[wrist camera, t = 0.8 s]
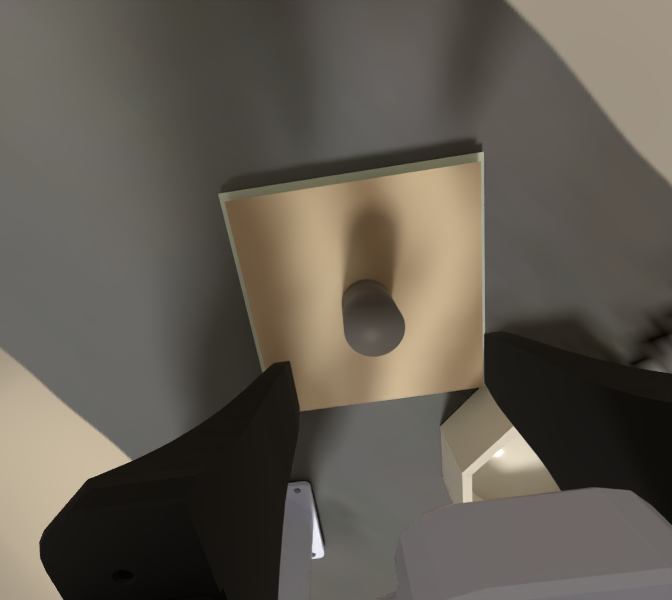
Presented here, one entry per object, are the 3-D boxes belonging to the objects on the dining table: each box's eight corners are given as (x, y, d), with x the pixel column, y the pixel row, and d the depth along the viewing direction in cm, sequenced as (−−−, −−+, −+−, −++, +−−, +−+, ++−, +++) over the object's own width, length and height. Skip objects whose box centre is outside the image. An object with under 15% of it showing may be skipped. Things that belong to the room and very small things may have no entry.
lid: (278, 407, 23) (264, 460, 18) (228, 201, 18) (194, 203, 14) (477, 380, 22) (515, 428, 18) (474, 162, 18) (523, 151, 13)
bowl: (444, 509, 26) (464, 565, 22) (438, 386, 23) (460, 426, 19) (588, 492, 26) (635, 546, 22) (605, 365, 22) (665, 401, 18)
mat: (273, 410, 23) (272, 414, 23) (220, 193, 19) (218, 193, 18) (482, 382, 23) (485, 385, 22) (480, 152, 18) (483, 151, 18)
